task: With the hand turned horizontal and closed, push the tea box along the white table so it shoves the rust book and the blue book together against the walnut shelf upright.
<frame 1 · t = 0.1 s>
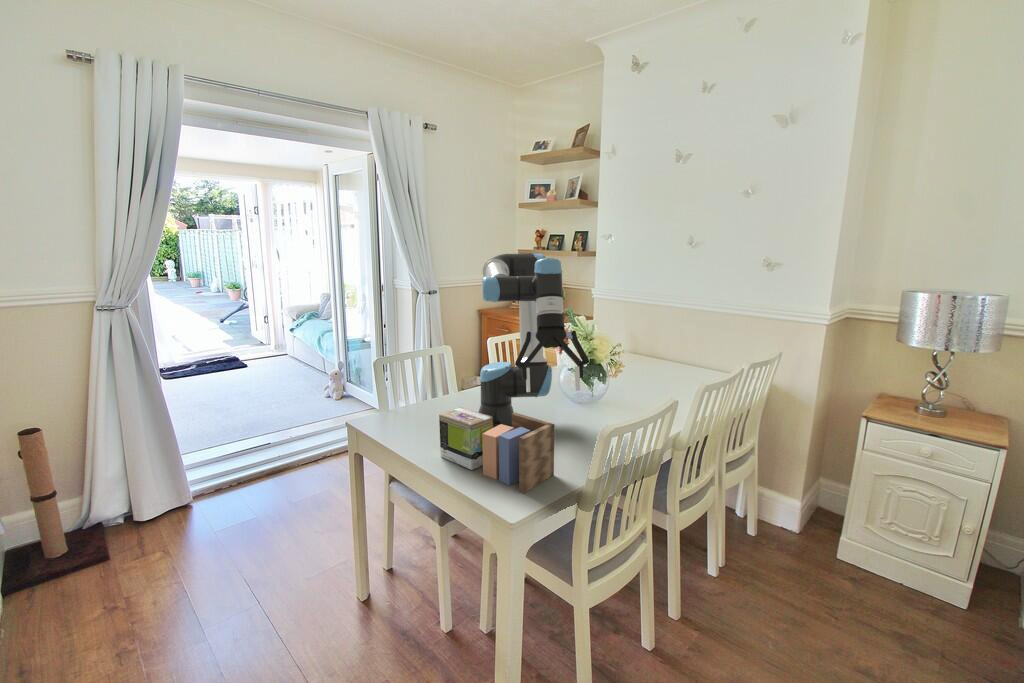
hand: (553, 391, 129), 28 cm above the table, tool tilted 20°, fingers open, 13 cm apart
blue book: (515, 477, 139), on the table
tea box: (466, 459, 152), on the table
rust book: (498, 470, 144), on the table
shelf: (534, 484, 135), on the table
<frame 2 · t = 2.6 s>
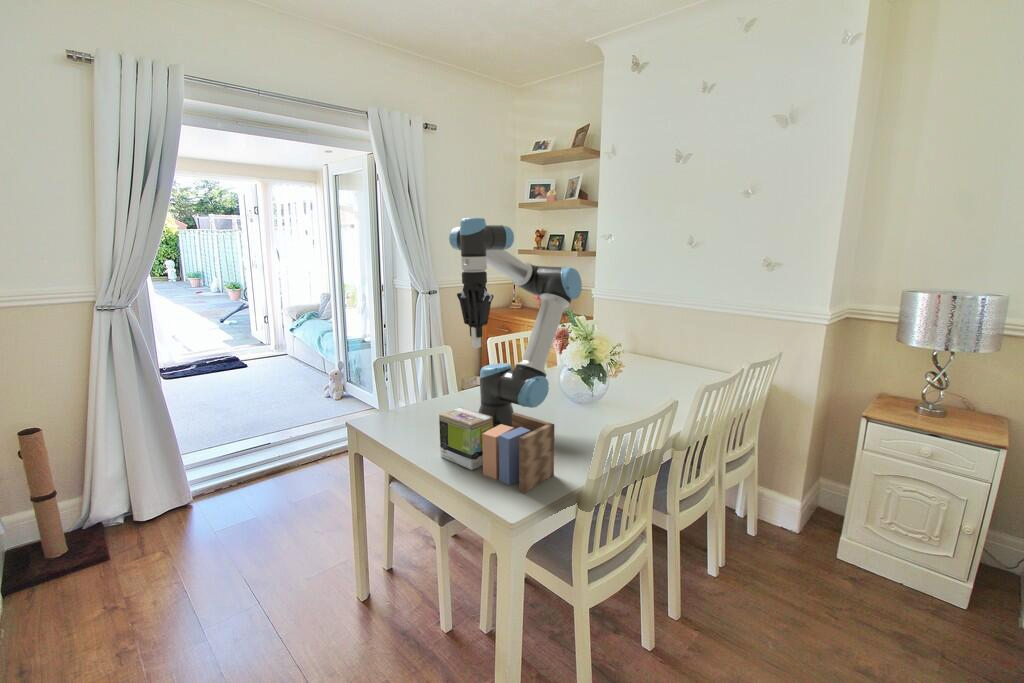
hand: (476, 347, 148), 36 cm above the table, tool pointing down, fingers closed
nothing on the table moved.
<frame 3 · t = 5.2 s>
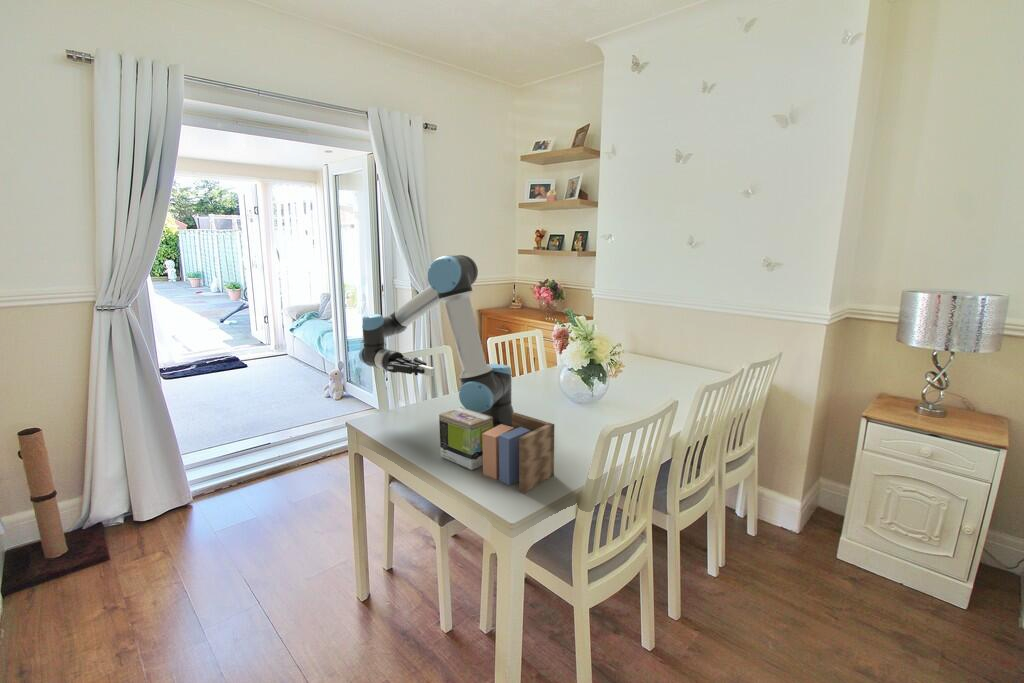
hand: (432, 372, 156), 26 cm above the table, tool horizontal, fingers closed
nothing on the table moved.
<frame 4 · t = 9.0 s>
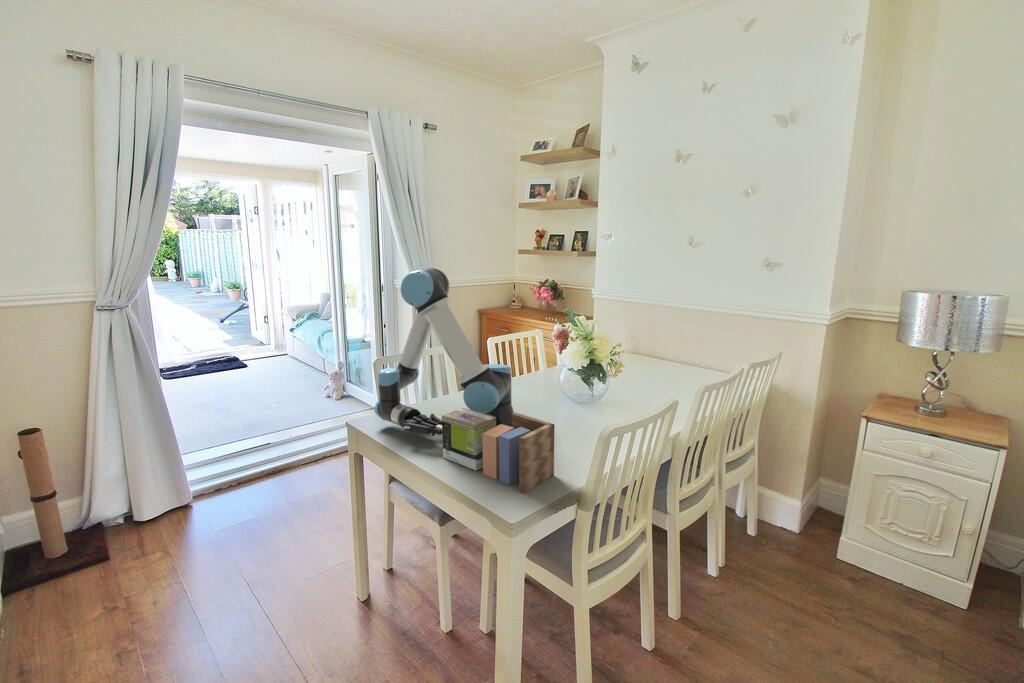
hand: (450, 433, 154), 7 cm above the table, tool horizontal, fingers closed
tea box: (469, 459, 151), on the table, touching gripper
everything else where it was.
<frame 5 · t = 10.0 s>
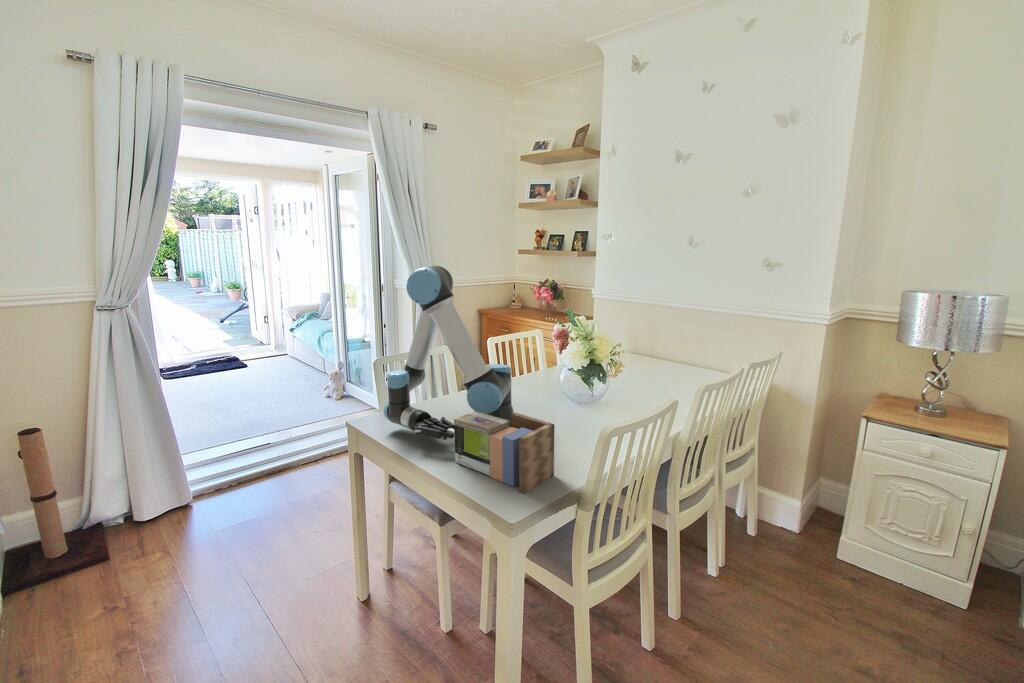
hand: (462, 437, 151), 7 cm above the table, tool horizontal, fingers closed
blue book: (517, 478, 139), on the table, touching rust book
tea box: (482, 464, 148), on the table, touching gripper, rust book
rust book: (506, 473, 142), on the table, touching blue book, tea box
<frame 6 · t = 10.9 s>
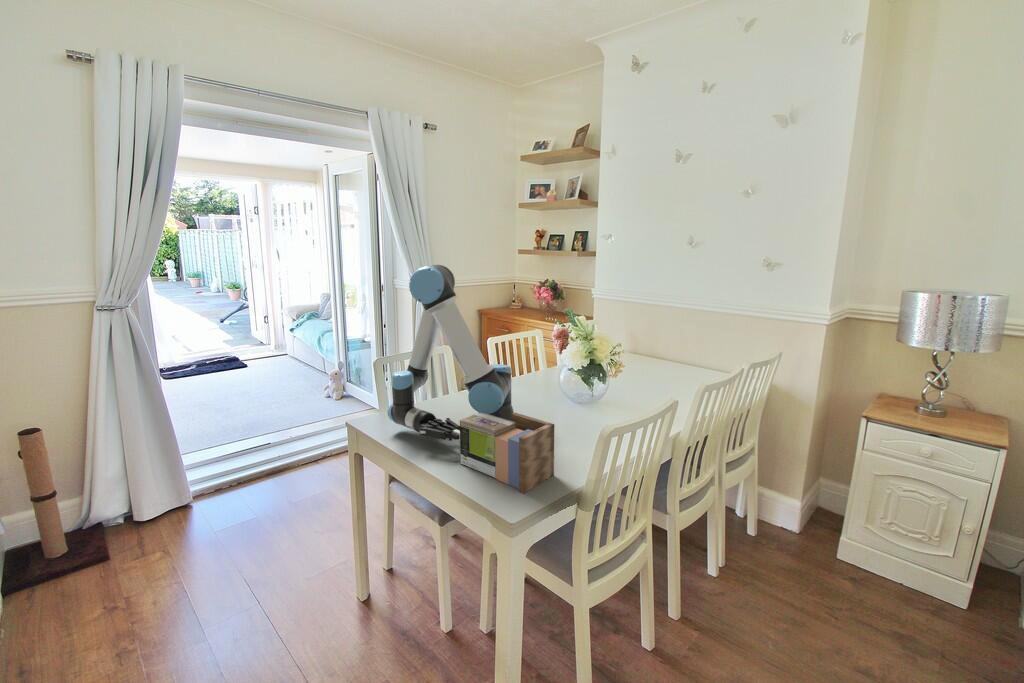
hand: (468, 439, 150), 7 cm above the table, tool horizontal, fingers closed
blue book: (523, 480, 137), on the table, touching rust book
tea box: (488, 466, 147), on the table, touching gripper, rust book
rust book: (512, 475, 140), on the table, touching blue book, tea box
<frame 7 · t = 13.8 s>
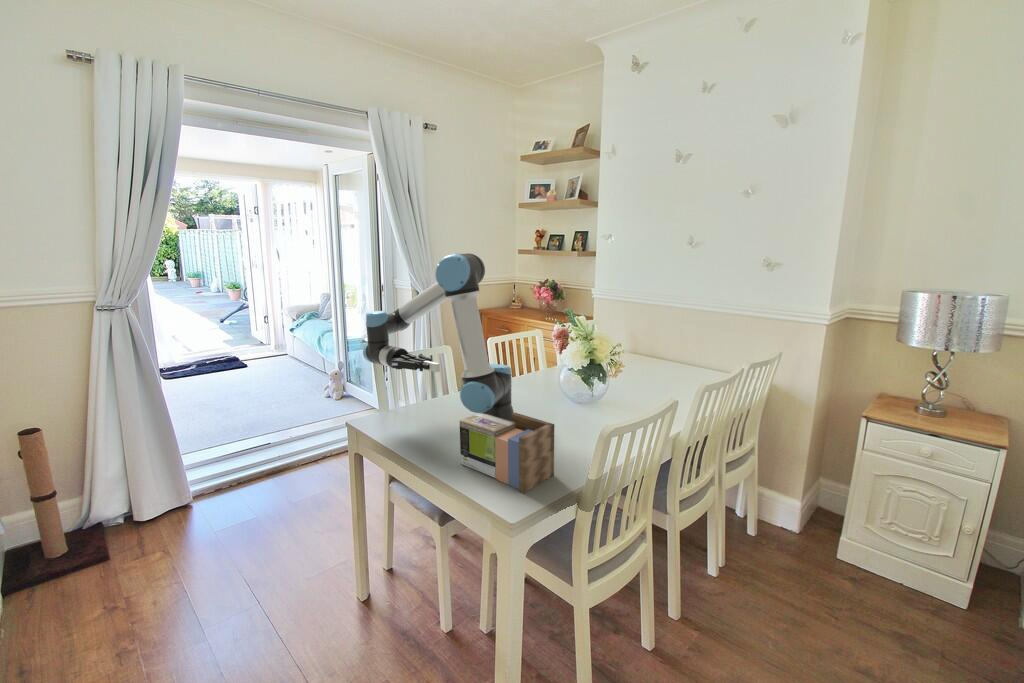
hand: (437, 367, 154), 28 cm above the table, tool horizontal, fingers closed
tea box: (488, 466, 147), on the table
rust book: (512, 476, 140), on the table, touching blue book
everything else where it was.
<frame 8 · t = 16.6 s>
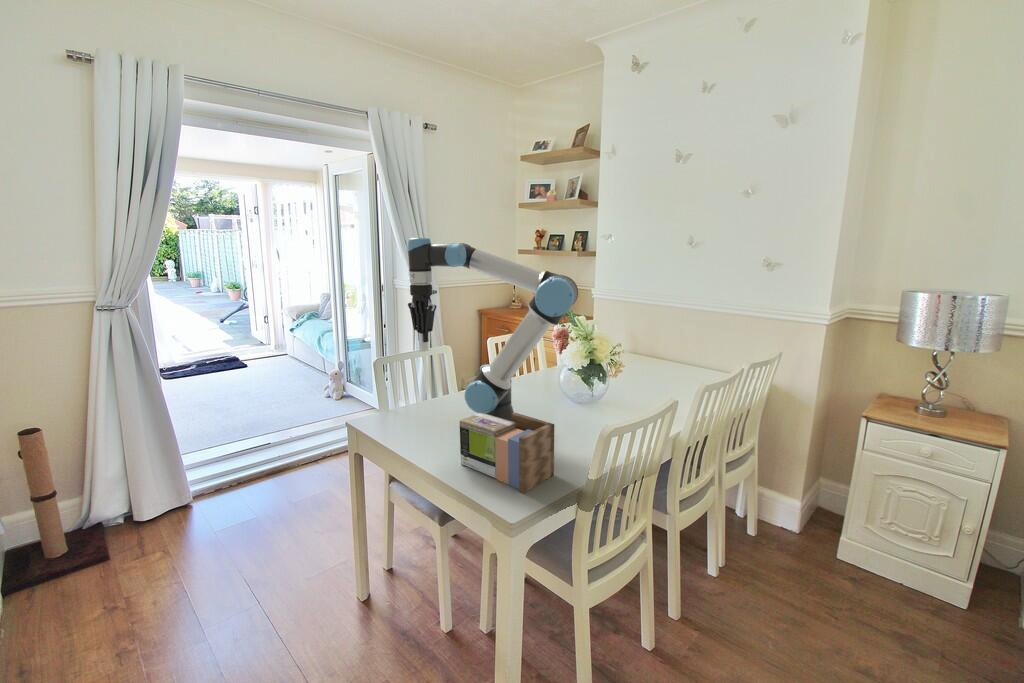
hand: (423, 350, 168), 30 cm above the table, tool pointing down, fingers closed
blue book: (523, 481, 137), on the table
rust book: (512, 476, 140), on the table
everything else where it was.
at the end: blue book inside the target area (0.7 cm from its centre), on the table; rust book inside the target area (0.6 cm from its centre), on the table; tea box moved 8.7 cm from its start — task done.
